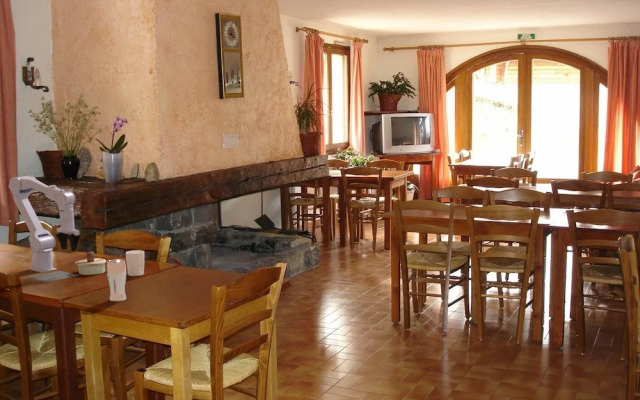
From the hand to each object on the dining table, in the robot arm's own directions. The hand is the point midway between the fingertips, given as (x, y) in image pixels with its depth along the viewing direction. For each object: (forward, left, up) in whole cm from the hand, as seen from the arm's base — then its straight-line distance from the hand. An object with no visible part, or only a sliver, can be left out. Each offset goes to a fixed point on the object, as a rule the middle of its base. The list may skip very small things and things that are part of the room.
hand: (69, 250), depth 315 cm
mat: (+2, -9, -10) cm, 14 cm away
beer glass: (+55, -14, -11) cm, 57 cm away
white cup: (+26, +16, -11) cm, 32 cm away
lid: (+8, +5, -6) cm, 11 cm away
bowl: (+8, +6, -10) cm, 14 cm away
